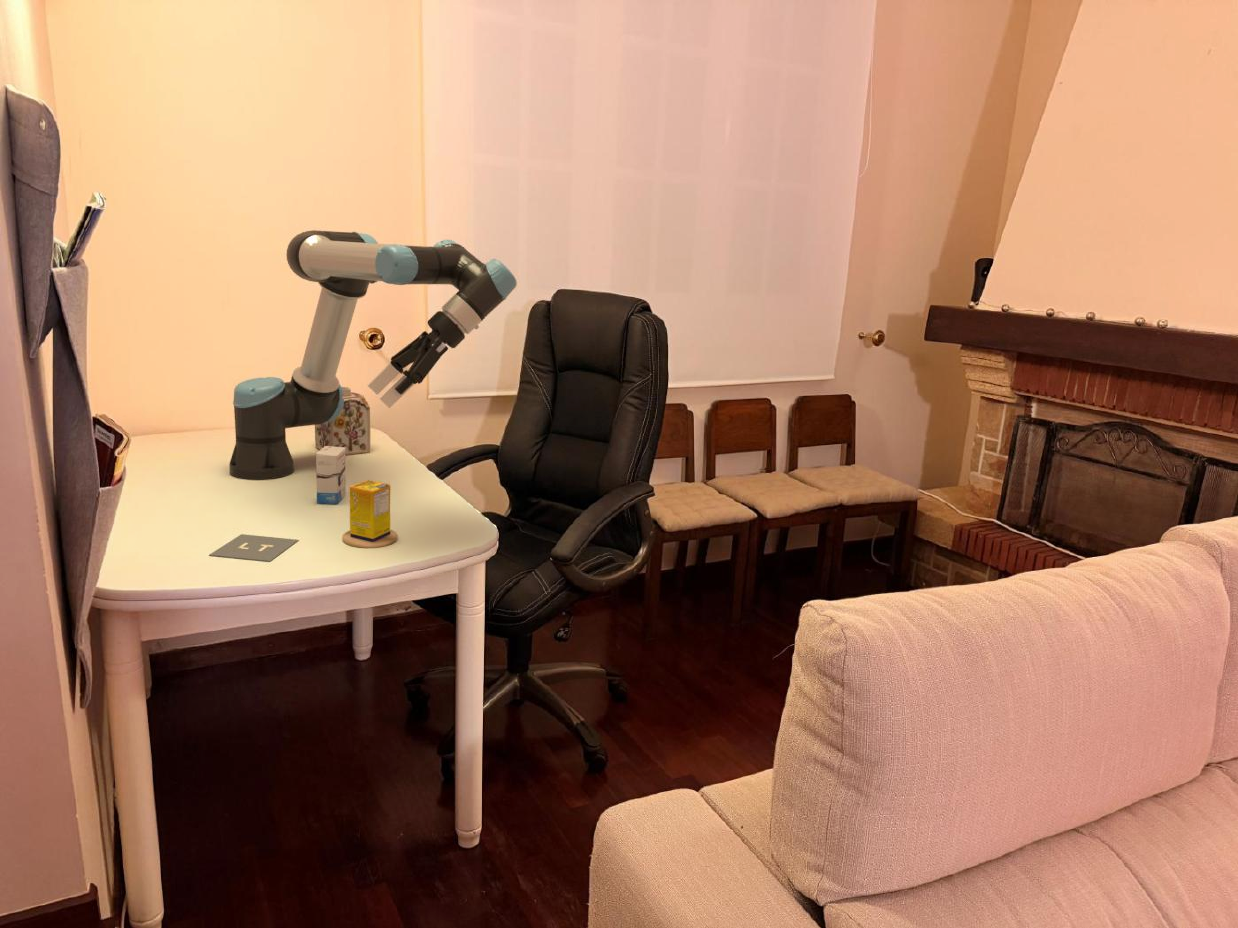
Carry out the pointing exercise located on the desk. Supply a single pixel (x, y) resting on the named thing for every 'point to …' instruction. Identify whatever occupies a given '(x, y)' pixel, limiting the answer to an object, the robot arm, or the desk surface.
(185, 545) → the desk surface
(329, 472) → the ink box
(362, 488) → the supplement box
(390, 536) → the coaster
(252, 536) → the grey flat square slab
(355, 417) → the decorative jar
